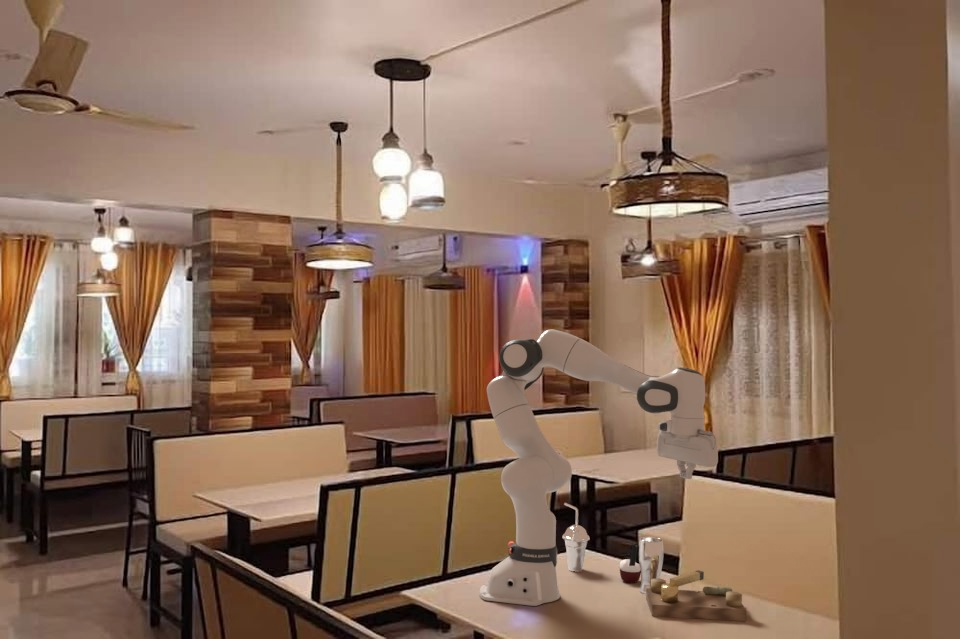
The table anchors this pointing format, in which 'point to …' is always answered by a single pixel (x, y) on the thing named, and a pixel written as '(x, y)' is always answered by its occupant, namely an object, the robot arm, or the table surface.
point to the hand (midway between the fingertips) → (685, 478)
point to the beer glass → (650, 560)
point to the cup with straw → (575, 544)
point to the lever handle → (671, 590)
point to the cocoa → (630, 567)
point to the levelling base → (697, 603)
